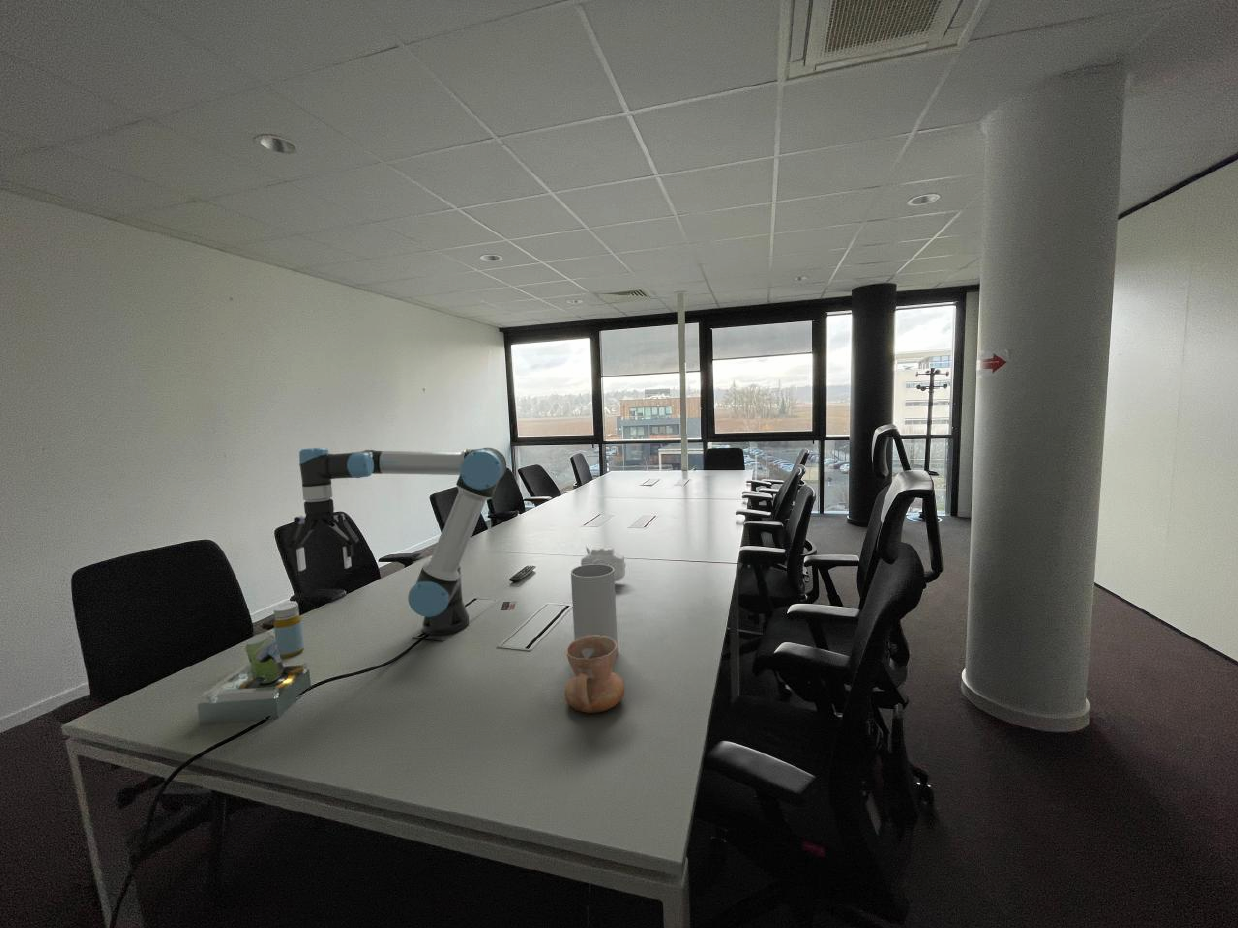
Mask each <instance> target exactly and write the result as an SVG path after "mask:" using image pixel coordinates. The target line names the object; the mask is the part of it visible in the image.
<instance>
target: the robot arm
mask: <svg viewBox="0 0 1238 928" xmlns="http://www.w3.org/2000/svg"><path fill="white" fill-rule="evenodd" d="M298 458H299V459H298V461H299V462H298V466H299V470H300V478H301V488H302V499H303V500H304V502H303V509H304V514H305V516H302V515H299V516H296V517H294V519H293V523H294V524H293V527H292V529H291V531H290V534H289V537H288V539H287V541H286V544H285V548H286V549H292V551H293V558H294V560H295V561H296V562H297V571H298V572H303V571H304V570H306V569H307V566H306V556H305V548H304V547H302V546H303V544H304V543H305V542H306V540H308V538H309V536H310V535H311V534H312V532H317V531H328V532H331V534H332V535H334V537H336V538H337V539H338V541H340V542H341V543H342V544H343V545H344V546H343V547H342V552H343V553H342V554H343V562H344V569H349V568H352V566H353V565H352V563H353V562H352V556H354V547H353V546H354V545H355V544H357V543H359V541H360V539H359V537H358V536H357V534H356V533H355V532H354V529H353V528H352V527H351V525H350V523H349V522H348V520H347V517H346V513H341V514H337V515H336V514H335V512H334V511H335V509H334V508H335V507H334V499H332V497H333V487H332V480H336V479H338V480H339V479H362V478H367V477H370V476H371V475H373V474H375V475H382V474H383V475H384V474H385V475H388V474H389V475H430V476H433V475H435V476H436V475H437V476H439V475H441V476H443V475H445V476H458V478H457V480H456V483H455V485H456V488H457V490H458V493H457V494H456V497H455V500H454V502H453V505H452V506H451V509H450V512H449V514H448V516H447V519H446V522H445V524H444V527H443V528H442V531H441V534H440V536H439V538H438V541H437V544H436V546H435V548H434V551H433V554H432V556H431V558H430V560H429V561H426V562H424V563H423V565H422V567H421V570H420V572H419V574H418V577H417V579H416V580H415V581H416V582H415V584H414V585H412V587H411V588H410V590H409V592H408V599H407V601H408V605H409V606H410V608H411V609H412V611H413V612H414V613H416V614H417V615H419V616H421V617H422V616H423V621H422V631H423V633H424V634H426V635H429V636H444V635H451V634H454V633H457V632H460V631H463V629H466V628H467V627H468V626H469V624H470V614H469V612H468V610H467V608H466V606H465V603H464V600H463V589H462V575H461V572H462V571H461V565H460V564H461V562H462V559H463V557H464V555H465V552H466V549H467V547H468V545H469V542H470V540H471V537H472V535H473V532H474V531H475V527H476V525H477V523H478V521H479V517H480V516H481V513H482V511H483V508H484V505H486V501H488V500H490V499H492V498H493V497H494V494H495V492H496V490H497V487H498V485H499V482H500V479H502V478H503V476H504V475H505V473H506V470H507V460H506V458H505V457H504V455H503V453H502V452H500V451H499V450H498V449H495V448H493V447H483V448H476V449H475V448H474V449H468V448H467V449H465V450H463V451H462V452H460V451H456V452H455V451H451V452H450V451H414V450H413V451H412V450H411V451H405V450H402V451H400V450H398V451H397V450H375V449H365V450H363V451H354V452H346V453H329V449H328V448H327V447H313V448H303V449H301V450H299V453H298ZM335 520H336V522H338V525H337V524H336V523H335ZM305 523H306V524H307V525H306V527H305V529H304V531H303V532H302V533H301V530H302V528H303V524H305ZM339 526H340V528H341V529H342V530H343V531H342V530H341V529H340V528H339ZM300 533H301V535H300Z"/></svg>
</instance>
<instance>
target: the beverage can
mask: <svg viewBox="0 0 1238 928" xmlns="http://www.w3.org/2000/svg"><path fill="white" fill-rule="evenodd" d="M245 653H246V655H247V657H248V662H249V664H250V668H251V669H252V670H253V673H254V676H255V679H256V682H257V683H263V684H264V683H269V682H272V681H274V680H276V679H277V678H279V677H280V676H281V674H282V673H283V672H284V668H283V664H284V663H283V662H282V661H283V660H282V658H281V657H280V655H279V652H278V648H277V645H276V641H275V636H273V635H272V634H271V633H269V632H263V633H259V634H256V635H254V636H251V637H250V638H248V639H247V641H246V645H245ZM252 670H251V671H252Z"/></svg>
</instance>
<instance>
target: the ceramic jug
mask: <svg viewBox="0 0 1238 928" xmlns="http://www.w3.org/2000/svg"><path fill="white" fill-rule="evenodd" d="M587 648H589V649H595V650H594V651H593V652H592V653H591V655H590V657H589V658H588V659H585V657H584V656H583V653H582V650H583V649H587ZM565 652H566V657H567V660H568V663H569V665H570V668H571V669H572V671H573V673H574V675H575V676H572V677H571V679H570V680H568V682H567V684H566V685H565V689H564V697H565V700H566V702H567V704H568V705H569V706H570V707H571V708H573V709H574V710H575V711H578V712H582V713H586V714H594V713H595V714H597V713H603V712H606V711H607V710H610V709H613V708H614V707H615V706H617V705H618V704H619V703H620V702H621V700H622V699H623V697H624V694H625V690H626V688H625V684H624V680H623V679H622V678H621V676H620V675H619V674H617V673H616V672H614V671H613V669H614V666H615V663H616V659H617V655H618V653H617V643H616V641H615V640H613V639H612V638H610V637H606V636H602V637H600V636H599V635H591V636H585V637H582V638H579V639H577V640H572V641H571V642H570V643H569V644H568V645H567V647H566V650H565Z"/></svg>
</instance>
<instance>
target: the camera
mask: <svg viewBox="0 0 1238 928" xmlns="http://www.w3.org/2000/svg"><path fill="white" fill-rule="evenodd" d="M585 547H586V554H584V555H583V556H582V557H581V559H580V560H581V561H580V566H583V565H589V564H604V565H609V566H612V567H613V568H614V574H615V582H618V581H620V580H622V579H624V577H625V574H626V571H625V569H626V562H625V556H624V554H622V553H619V552H617V551H615V549H614V547H606V546H603V545H602V546H600V547H593V548H592V549H591V550H590V549H589V547H587V546H585Z"/></svg>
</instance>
